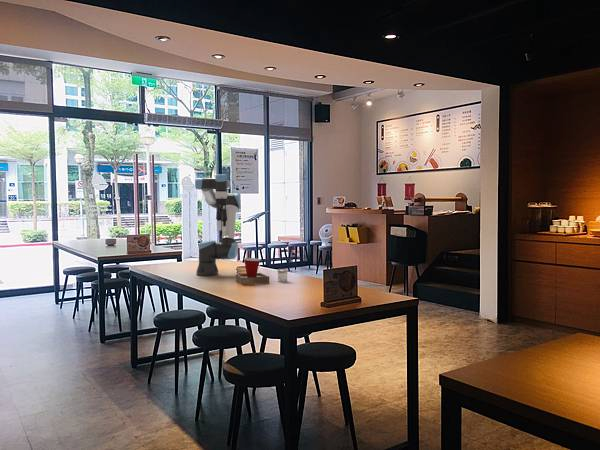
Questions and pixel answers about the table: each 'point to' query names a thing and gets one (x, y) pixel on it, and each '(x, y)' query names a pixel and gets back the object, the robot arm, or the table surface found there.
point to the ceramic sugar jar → (282, 275)
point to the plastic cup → (251, 266)
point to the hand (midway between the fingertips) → (221, 231)
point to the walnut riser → (252, 279)
